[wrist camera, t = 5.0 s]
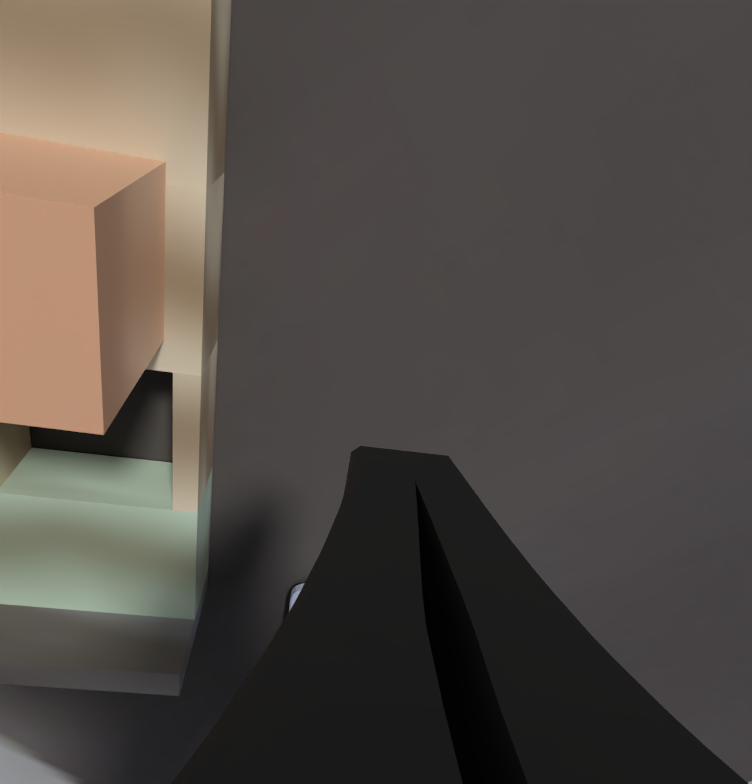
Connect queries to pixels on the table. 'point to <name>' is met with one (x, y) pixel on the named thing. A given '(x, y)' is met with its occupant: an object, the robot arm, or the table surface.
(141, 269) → the block
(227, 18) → the trap board
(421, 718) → the robot arm
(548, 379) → the table surface
